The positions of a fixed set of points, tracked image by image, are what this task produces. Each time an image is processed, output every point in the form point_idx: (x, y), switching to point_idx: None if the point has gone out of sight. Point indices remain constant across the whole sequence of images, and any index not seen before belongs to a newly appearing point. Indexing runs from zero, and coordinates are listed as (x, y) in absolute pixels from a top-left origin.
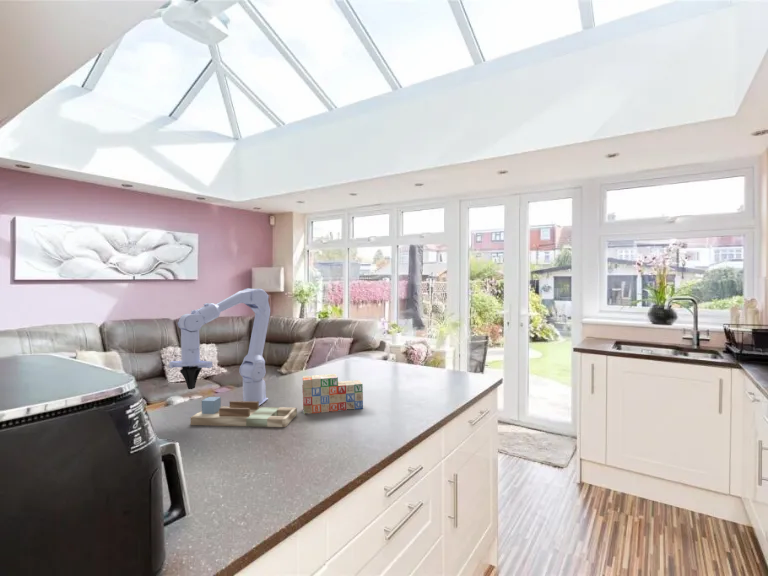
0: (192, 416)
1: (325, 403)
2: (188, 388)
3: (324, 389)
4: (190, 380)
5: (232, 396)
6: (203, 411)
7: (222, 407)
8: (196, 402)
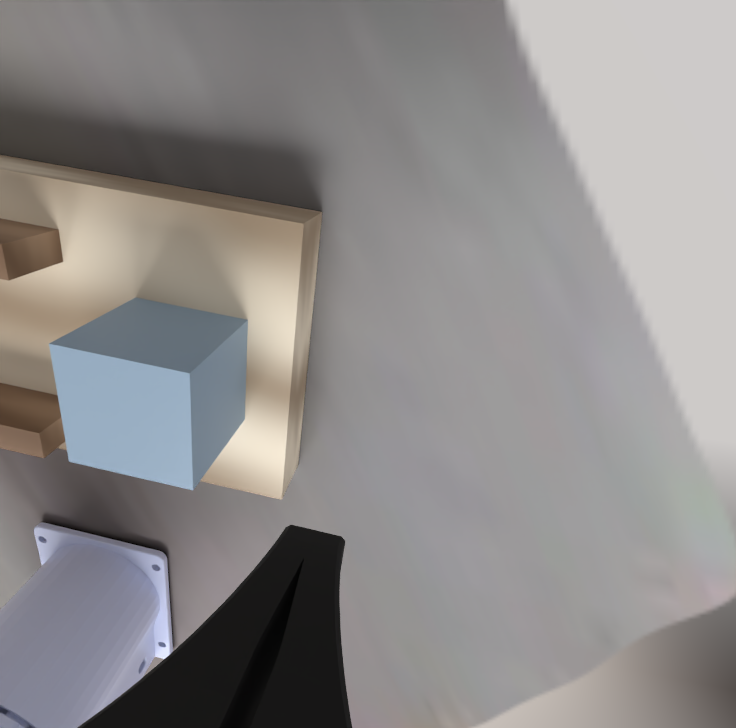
0: (296, 250)
1: None
2: (330, 539)
3: None
4: (233, 634)
5: None
6: (223, 323)
7: None
8: (481, 673)
